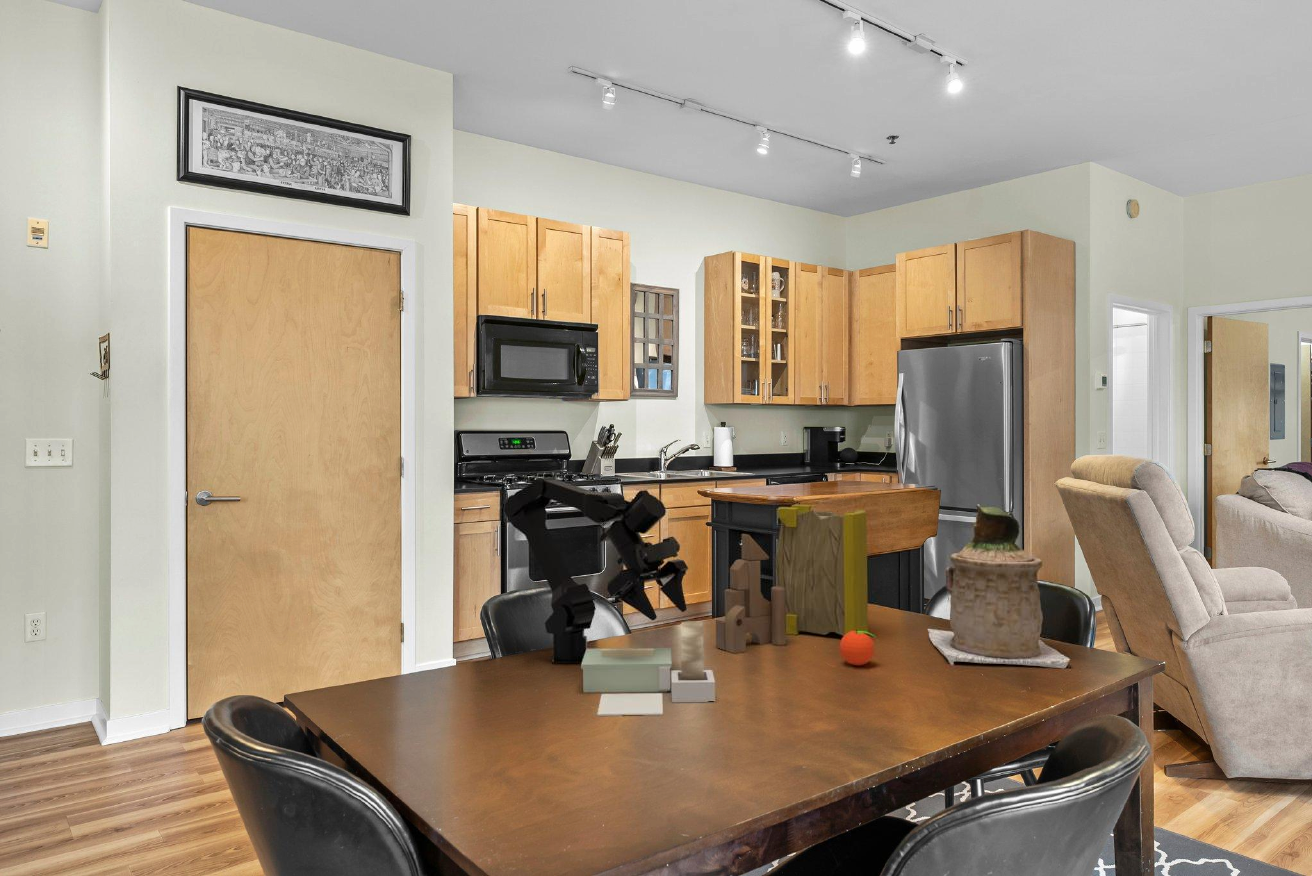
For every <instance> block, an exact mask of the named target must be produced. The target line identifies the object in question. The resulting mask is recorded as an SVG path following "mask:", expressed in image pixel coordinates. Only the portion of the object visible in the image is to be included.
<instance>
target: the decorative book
mask: <svg viewBox="0 0 1312 876" xmlns="http://www.w3.org/2000/svg"><path fill="white" fill-rule="evenodd" d="M777 518H778V519H780V521H781V523H780V528H779V529H780V530H779V536H778V541H777V542H778V543H777V547H776V552H775V587H777V586H779V587H784V588H785V589H786V635H792V636H798V635H799V634H800V632H807V633H808V632H809V633H812V634H818V635H823V636H824V635H825V636H826V635H828V634H830V633H836V634H838V635H841V637H844V635H845V634H847V633H848V632H850V631H856V630H858V631H865V632H869V628H868V627H869V621H868V620H869V619H868V611H869V609H868V541H867V539H868V538H867V537H868V535H867V534H868V533H867V528H868V527H867V521H868V520H867V511H866V510H862V509H861V510H855V511H854V512H851V513H850V512H849V513H848V512H847V513H844V514H842V515H841V514H840V515H839V514H838V513H835V512H830V511H826V510H821V511H820V510H814V509H812V505H811V504H792V505H791V506H790V507H789V506H780V507H777Z"/></svg>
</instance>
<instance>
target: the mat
mask: <svg viewBox="0 0 1312 876" xmlns="http://www.w3.org/2000/svg"><path fill="white" fill-rule="evenodd" d="M663 710H664V709H663V692H655V693H654V692H653V693H652V692H646V693H601V696H600V700H599V705H598V709H597V713H596V715H597V717H602V716H603V717H614V716H615V717H623V716H622V715H627V717H628V715H644V716H663V715H664V711H663Z"/></svg>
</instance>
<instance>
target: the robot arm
mask: <svg viewBox="0 0 1312 876" xmlns="http://www.w3.org/2000/svg"><path fill="white" fill-rule="evenodd" d="M552 501H554V502H557V503H560V504H563V505H566V506H568V507H571V508H574V509H578V510H579V511H580V512H581V513H582V514H583V516H584V517H586V518H588V519H589V520H591V521H592V522H594V523H595V524H605V523H611V524H610V525H609V526H608V527H602V528H601V534H600V536H599V541H600V542H609V541H610V543H611V545H612V547H613V548H614V550H615V552H616V553H617V554H618V555H617V556H618V557H619V558H618V559H617V560H616V562H617V564H618V566H624V567H625V569H621V570H620V571H618V572H617V573H616V574H615V576H613V577H612V578H611V579H610V580H609V581H608V582H607V584H606V585H607V587H606V590H607V592H608V594H609V596H610V598H611V599H613V598H616V599H617V601H622V602H623V603H625V604H626V605H628V606H630V607H632V608H634V609H635V610H636V611H638V612H639V613H641V614H642V615H644V616H645V617H647V618H648V619H649V620H651V621H652V622H653V621H655V620H656V619H657V614H656V611H655V609H654V607H653V605H652V603H651V601H650V599H649V597H648V595H647V593H646V591H645V583H649V582H654V581H655V582H656V584H657V585H659V586H660V588H659V590H660V591H661V592H662V594H664V595H665V596H666V597H667V599H668V600H669V601H670V602H671V603H672V604H673V605H674V606H675V607H676V608H677V609H678V610H679V611H680V612H681V613H685V612H686V611H687V603H686V599H685V594H684V589H683V579H684V576H686V574H687V571H688V570H689V567H688V565H687V563H686V562H685V561H684V559H680V558H679V559H673V560H668V561H667V562H666V561H664V560H667V559H670V558H672V557H673V558H676V557H679V555H678V553H679V552H680V549H681V548H680V547H681V545H680V543H679V542H678V540H677V539H676V538H675V537H674V536H669V537H667V538H666V537H665V538H663V539H662V541H661V542H658V543H654V544H653V543H652V542H650V541H648V542H647V541H646V542H645V541H644V539H643V538H642V535H641V534H643V535H645V534H647V533H648V532H649V531H650V530H652V528H654V527H655V525H656V524H658V523H659V522H660V520H662V519H663V518H664V517H665V515H666V513H667V511H666V507H665V504H664V503H663V501H661V500H659V498H658V497H656V496H655V495H653V494H650V492H649V491H648V490H647V489H644V490H639V491H638V492H637V493H636V494H635V496H634V498H632V499H631V500H630V501H628V500H627V499H625V496H624V495H623V494H621V493H618V492H608V491H591V490H590V489H589V490H588V489H585V488H582V487H579V486H576V485H573V484H570V483H567V482H564V481H561V480H559V479H557V478H555V477H550V476H549V477H538V478H536V479H534V480H533V481H532V482H531V483H530V484H529V485H526V486H525V487H523V488H521V489H519V490H518V491H516V492H515V493H514V494H511V495H509V496H508V497H507V499H506V501H505V504H504V505H503V507H504V508H503V509H504V514H505V516H506V518H507V519H508V521H509V523H510V524H511V525H512V527H513V528H515V529H516V530H518V531H519V532H520V533H521V534H523V535H524V536H525V538H526V540H527V541H528V544H529V546H530V548H531V550H532V552H533V555H534V557H535V558H536V560H537V562H538V563H537V564H539V567H540V570H541V571H542V573H543V575H544V577H545V580H546V582H547V583H548V586H549V587H550V590H551V603H550V605H551V609H552V613H551V615H550V616H549V617H548V618H547V620H545V622H544V625H545V630H546V633H547V634H551V635H552V636H553V637H552V638H553V639H552V641H553V642H552V643H553V644H552V645H553V646H552V647H553V648H552V649H553V650H552V651H553V652H552V653H553V658H552V660H551V664H582V661H583V658H584V655H585V652H586V649H588V636H587V635H585V630H588V629H589V630H590V629H591V627H592V623H593V619H594V617H595V611H596V610H597V609H596V607H597V606H596V605H595V604H596V603H595V599H596V598H595V597H594V596H593V595H592V593H591V591H590V589H589V586H588V584H586V583H579V584H578V582H576V581H574V579H573V577H572V576H571V573H570V571H569V569H568V567H567V565H566V563H565V562H564V561H565V560H564V559H563V557H562V555H561V553H560V550H559V549H558V548H557V544H556V543H555V541H554V539H553V537H552V535H551V533H550V531H549V529H548V527H547V524H546V523H547V514H548V512H547V510H546V508H547V507H549V506H550V504H551V503H552ZM665 562H666V563H665ZM663 564H664V565H663ZM659 567H660V568H659Z"/></svg>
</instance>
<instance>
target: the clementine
mask: <svg viewBox="0 0 1312 876" xmlns="http://www.w3.org/2000/svg"><path fill="white" fill-rule="evenodd" d="M870 635H871V636H873V637H875V635H874V634H872V633H870V632H869V631H868V632H865V631H858V630H856V631H850V632H848V633H847V634H845V635H844V636H842V638H841V640H840V643H839V651H840V655H841V657H842V658H843V659H844V660H845V661H846V662H847V663H848V664H849V665H852V666H853V665H854V666H856V667H857V666H860V667H861V666H863V665H866V664H868V663H870V661H871V660H872V659H873V657H874V654H875V643H874V641H873V639H872V638H871V637H870ZM877 641H878V643H879V644H880V641H879V640H877Z"/></svg>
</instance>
